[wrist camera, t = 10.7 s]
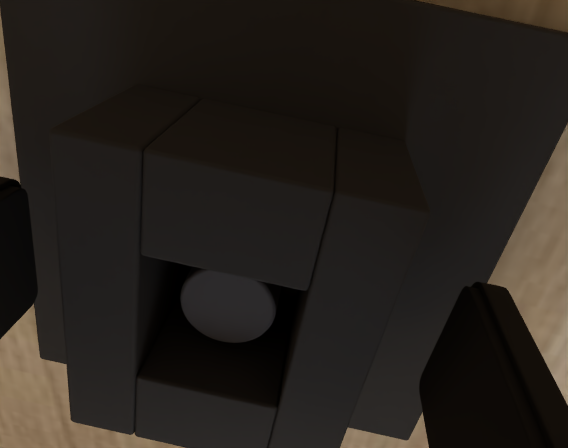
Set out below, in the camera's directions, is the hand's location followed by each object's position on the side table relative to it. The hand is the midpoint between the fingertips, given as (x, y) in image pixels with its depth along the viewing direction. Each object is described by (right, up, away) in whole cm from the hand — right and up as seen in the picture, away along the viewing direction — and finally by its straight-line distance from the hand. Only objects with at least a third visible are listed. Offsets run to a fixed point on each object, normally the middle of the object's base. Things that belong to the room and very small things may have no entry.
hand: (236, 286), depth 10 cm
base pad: (0, +1, +3) cm, 3 cm away
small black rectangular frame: (0, +1, +2) cm, 2 cm away
